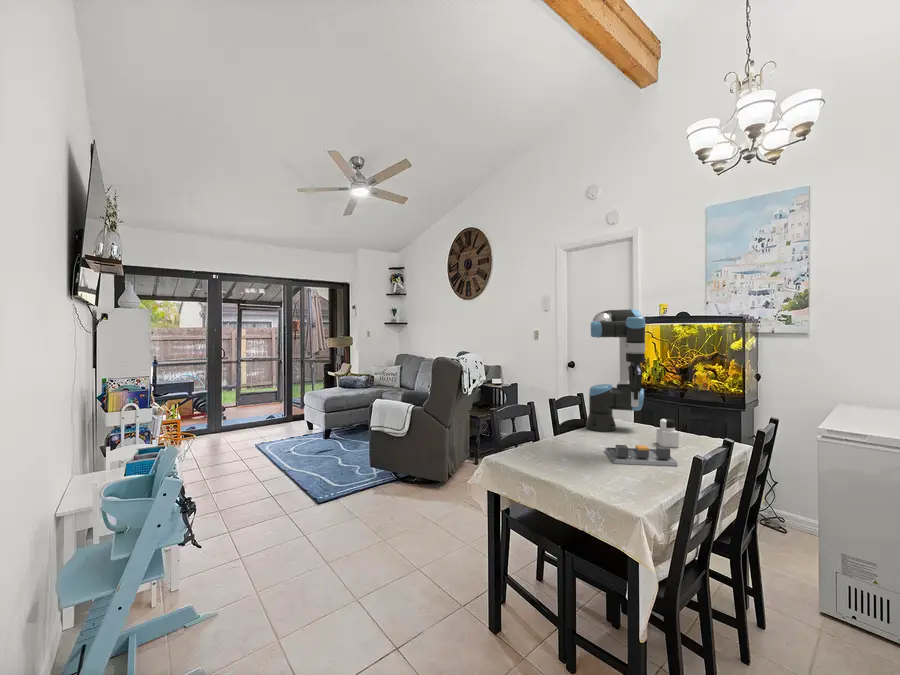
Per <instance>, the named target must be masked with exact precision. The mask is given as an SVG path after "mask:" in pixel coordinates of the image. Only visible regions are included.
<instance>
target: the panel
mask: <svg viewBox="0 0 900 675" xmlns="http://www.w3.org/2000/svg"><path fill="white" fill-rule="evenodd" d="M604 451H605V453H606V454H607V456H608V457H609V459H610V460H611V461H612V463H613V464H615V465H635V466H636V465H642V466H643V465H644V466H667V467H678V466H679V465H678V462H677V461H676V459H674V458H673V457H672V456H671V455H670V459H659V458H658V457H657V456H656V448H649V458H638V457H637V456H636V447H635V448H634V447H633V448H632V447H628V458H623V457H617V455H616V447H604Z"/></svg>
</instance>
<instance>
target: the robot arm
mask: <svg viewBox="0 0 900 675" xmlns="http://www.w3.org/2000/svg"><path fill="white" fill-rule="evenodd" d="M646 324H647V323H646V317H643V316H642V314H641V311H640V310H639V309H607V310H603V311H601V312H598V313H597V314H595V315H594V317H593V318H592V321H591V322H590V336H591V337H592V338H598V339H599V338H619V342H618V343H619V381H618V383H617V384H616V387H614V386H613V385H612V384H607V383H603V384H596V385H592V386H590V388H589V392H588V393H589V394H588V396H589V397H588V398H589V405H588V406H589V407H588V409H589V411H588V416H587V420H586V421H585V428H586V429H587V428H588V429H587V430H589V431H594V432H600V433H601V432H603V433H605V432H607V433H608V432H614V431H616V430H617V425H616V421H615V418H614V416H613V411H617V410H618V411H631V412H632V411H636V412H639V411H640V410H642V407H643V405H644V399H645V388H642V378H643V374H644V371H643V370H642V365H641V363H644V362H645V361H646V354H645V353H646Z"/></svg>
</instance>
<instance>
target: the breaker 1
mask: <svg viewBox="0 0 900 675" xmlns="http://www.w3.org/2000/svg"><path fill="white" fill-rule="evenodd" d="M615 448H616V455H617V457H623V458H628V448H629V446H627V445H626V444H615Z"/></svg>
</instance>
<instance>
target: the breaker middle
mask: <svg viewBox="0 0 900 675" xmlns="http://www.w3.org/2000/svg"><path fill="white" fill-rule="evenodd" d="M635 448H636V456H637V457H638V458H649V449H650V447H648V446H647V445H646V444H645V445H644V444H643V445H642V444H641V445H640V444H636V445H635Z"/></svg>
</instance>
